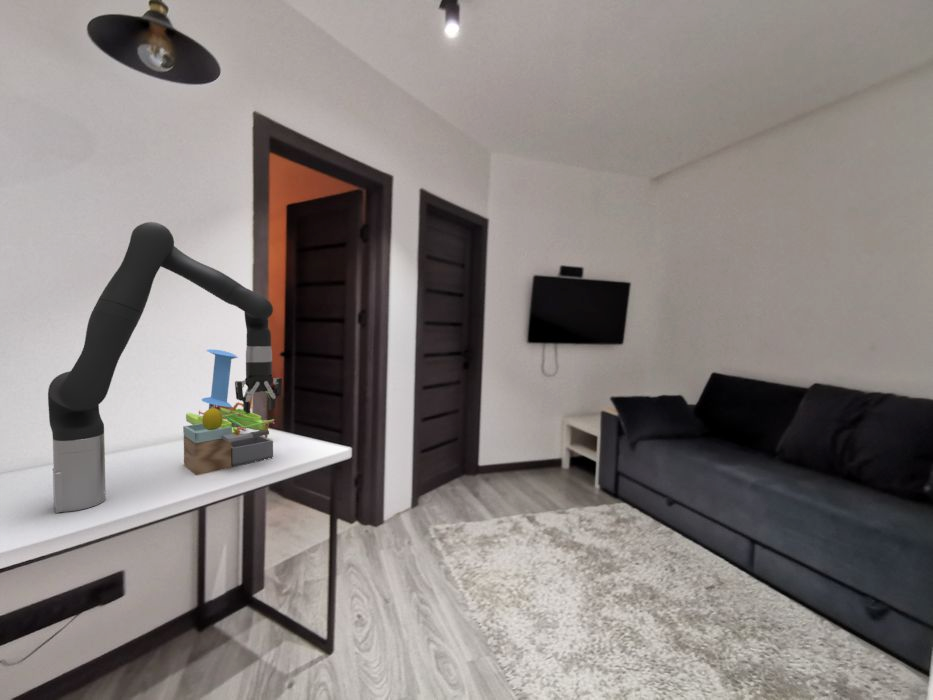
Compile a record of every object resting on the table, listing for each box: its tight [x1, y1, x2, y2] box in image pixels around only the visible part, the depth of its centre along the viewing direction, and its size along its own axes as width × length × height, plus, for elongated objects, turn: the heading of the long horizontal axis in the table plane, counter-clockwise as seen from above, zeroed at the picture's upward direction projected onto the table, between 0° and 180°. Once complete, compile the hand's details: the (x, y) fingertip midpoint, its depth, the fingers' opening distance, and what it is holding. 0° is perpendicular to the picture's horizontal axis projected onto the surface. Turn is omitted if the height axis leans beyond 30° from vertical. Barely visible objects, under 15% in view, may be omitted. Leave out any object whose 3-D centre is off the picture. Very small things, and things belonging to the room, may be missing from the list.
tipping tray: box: [183, 423, 270, 443], centre depth 130 cm, size 19×19×3 cm
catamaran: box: [185, 348, 276, 438], centre depth 157 cm, size 18×32×35 cm, turn 68°
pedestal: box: [183, 435, 232, 476], centre depth 129 cm, size 10×13×10 cm
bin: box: [231, 435, 274, 468], centre depth 138 cm, size 13×13×6 cm
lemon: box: [202, 408, 223, 430], centre depth 130 cm, size 6×6×8 cm
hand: (259, 411), depth 130 cm, fingers open, 6 cm apart
